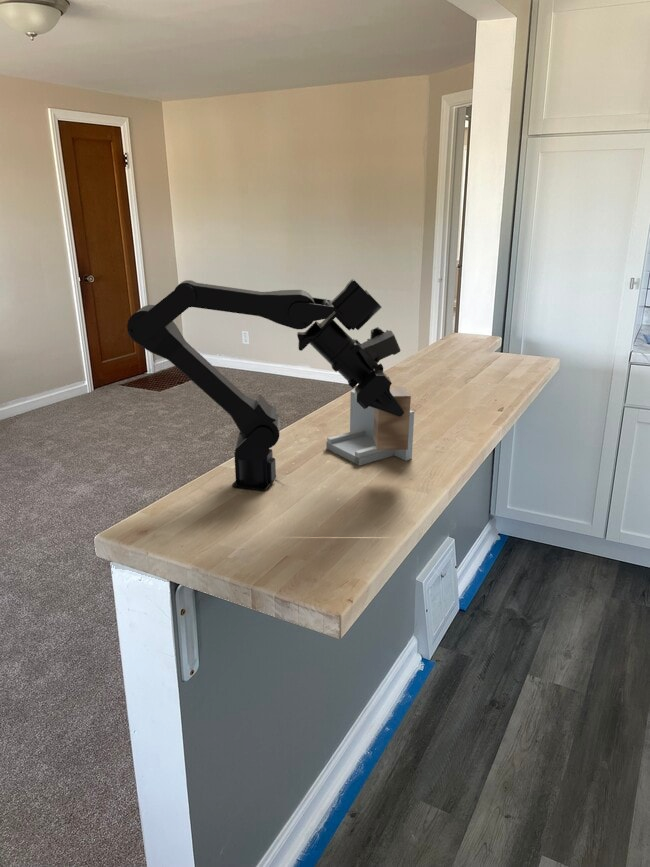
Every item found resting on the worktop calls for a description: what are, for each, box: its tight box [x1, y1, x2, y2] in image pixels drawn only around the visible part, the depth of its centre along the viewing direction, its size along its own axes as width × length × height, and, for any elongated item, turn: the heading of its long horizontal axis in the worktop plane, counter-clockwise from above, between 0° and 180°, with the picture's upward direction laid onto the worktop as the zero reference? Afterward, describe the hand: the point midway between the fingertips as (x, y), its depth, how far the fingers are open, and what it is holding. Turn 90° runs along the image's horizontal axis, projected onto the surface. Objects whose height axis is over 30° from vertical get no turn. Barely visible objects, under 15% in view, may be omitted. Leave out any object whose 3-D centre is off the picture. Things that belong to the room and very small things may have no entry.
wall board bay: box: [325, 390, 415, 467], centre depth 131 cm, size 11×18×10 cm, turn 36°
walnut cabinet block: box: [373, 386, 412, 450], centre depth 115 cm, size 6×6×10 cm
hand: (399, 409), depth 115 cm, fingers closed on walnut cabinet block, 5 cm apart
